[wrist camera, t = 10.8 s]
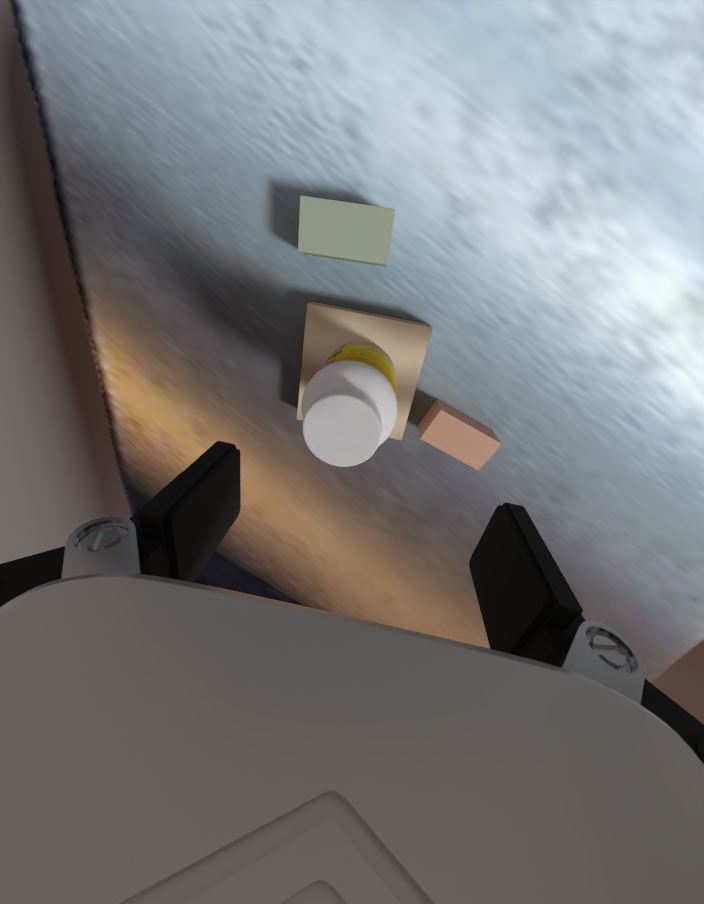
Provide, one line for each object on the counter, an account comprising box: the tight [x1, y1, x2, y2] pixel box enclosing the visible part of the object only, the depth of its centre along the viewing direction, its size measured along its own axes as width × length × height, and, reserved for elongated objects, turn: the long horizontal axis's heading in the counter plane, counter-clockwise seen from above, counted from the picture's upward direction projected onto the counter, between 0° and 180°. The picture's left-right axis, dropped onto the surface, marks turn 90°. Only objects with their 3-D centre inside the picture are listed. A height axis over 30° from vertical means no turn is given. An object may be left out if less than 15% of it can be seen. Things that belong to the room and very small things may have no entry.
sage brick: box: [298, 195, 395, 267], centre depth 25 cm, size 7×4×4 cm, turn 82°
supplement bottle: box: [301, 341, 397, 467], centre depth 24 cm, size 7×7×13 cm
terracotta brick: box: [418, 399, 502, 470], centre depth 32 cm, size 7×4×4 cm, turn 63°
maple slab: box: [297, 302, 432, 440], centre depth 31 cm, size 11×11×2 cm
